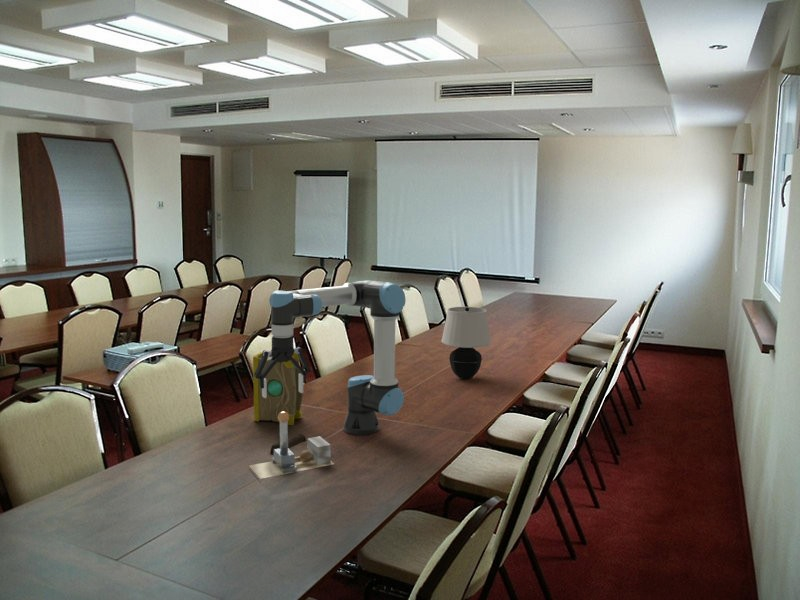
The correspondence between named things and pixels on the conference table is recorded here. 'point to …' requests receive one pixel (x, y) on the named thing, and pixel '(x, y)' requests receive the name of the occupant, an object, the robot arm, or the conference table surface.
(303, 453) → the brown ball
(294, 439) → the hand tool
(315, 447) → the knob lever base plate
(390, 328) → the robot arm
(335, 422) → the conference table surface
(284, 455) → the ball-top joystick
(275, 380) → the decorative book
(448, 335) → the table lamp
